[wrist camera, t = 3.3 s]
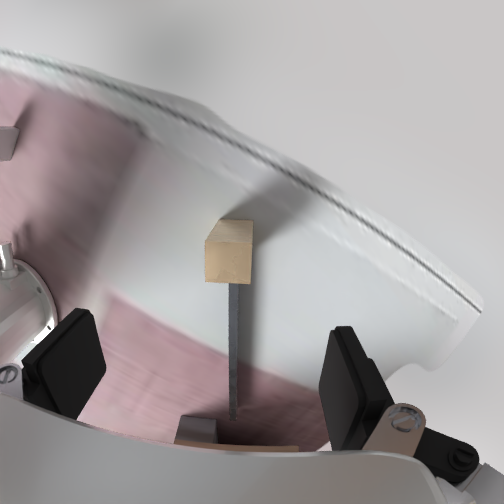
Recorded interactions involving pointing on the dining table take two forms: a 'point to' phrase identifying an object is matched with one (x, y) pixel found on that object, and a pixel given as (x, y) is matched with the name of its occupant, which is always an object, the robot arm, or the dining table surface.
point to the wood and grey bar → (230, 280)
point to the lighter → (7, 142)
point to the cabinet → (215, 437)
